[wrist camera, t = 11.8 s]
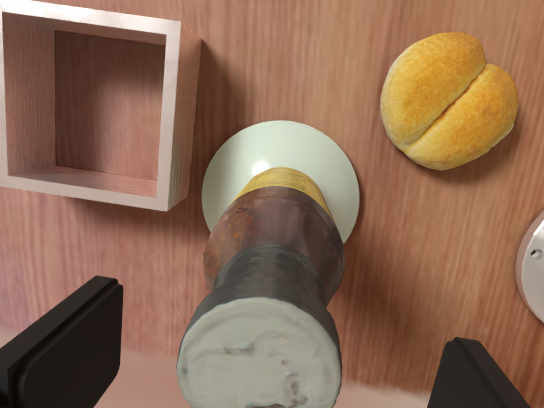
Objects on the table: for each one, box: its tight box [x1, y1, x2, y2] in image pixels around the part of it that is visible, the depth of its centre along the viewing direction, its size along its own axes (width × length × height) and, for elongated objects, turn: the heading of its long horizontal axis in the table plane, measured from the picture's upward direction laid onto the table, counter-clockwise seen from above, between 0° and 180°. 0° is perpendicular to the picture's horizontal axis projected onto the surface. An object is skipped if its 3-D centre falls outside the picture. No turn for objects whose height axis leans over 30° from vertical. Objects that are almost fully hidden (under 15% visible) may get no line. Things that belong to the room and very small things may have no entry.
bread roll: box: [380, 32, 519, 170], centre depth 25 cm, size 8×9×4 cm
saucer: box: [202, 120, 359, 244], centre depth 28 cm, size 12×12×1 cm
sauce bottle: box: [176, 167, 345, 408], centre depth 18 cm, size 7×6×20 cm
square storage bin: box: [0, 0, 202, 211], centre depth 25 cm, size 12×12×5 cm
